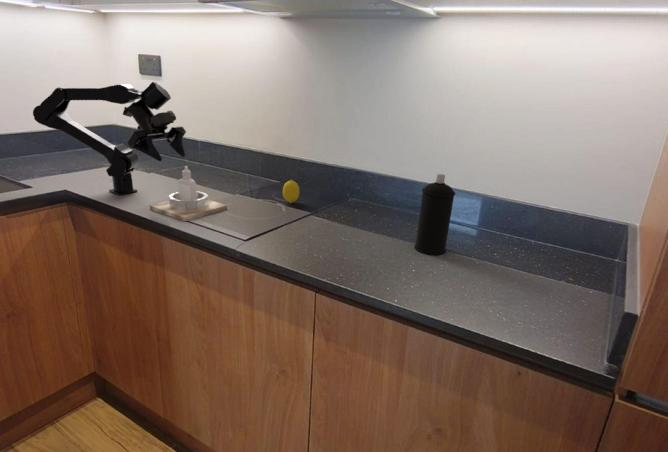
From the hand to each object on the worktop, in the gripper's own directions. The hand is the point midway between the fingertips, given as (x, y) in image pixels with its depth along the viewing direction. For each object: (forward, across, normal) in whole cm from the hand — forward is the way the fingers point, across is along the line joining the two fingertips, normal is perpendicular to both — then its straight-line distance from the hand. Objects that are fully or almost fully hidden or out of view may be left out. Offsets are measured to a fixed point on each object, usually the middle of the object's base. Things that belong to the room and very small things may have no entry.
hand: (173, 158), depth 134 cm
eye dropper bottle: (+16, -4, +2) cm, 17 cm away
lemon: (+32, +21, -12) cm, 40 cm away
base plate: (+17, -4, +2) cm, 17 cm away
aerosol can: (+68, +10, -48) cm, 84 cm away
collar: (+16, -4, +2) cm, 17 cm away
